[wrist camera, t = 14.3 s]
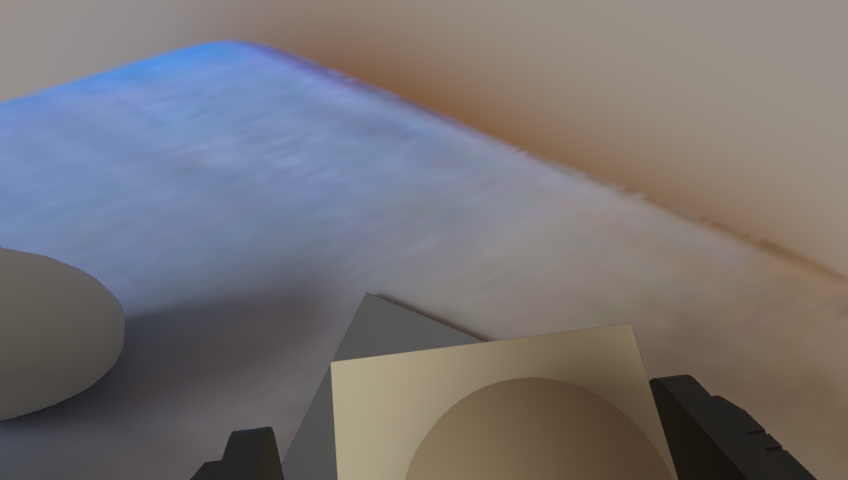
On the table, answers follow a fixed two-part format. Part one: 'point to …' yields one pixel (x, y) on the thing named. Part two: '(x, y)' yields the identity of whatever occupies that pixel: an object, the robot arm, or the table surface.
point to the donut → (52, 332)
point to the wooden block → (502, 412)
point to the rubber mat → (366, 337)
